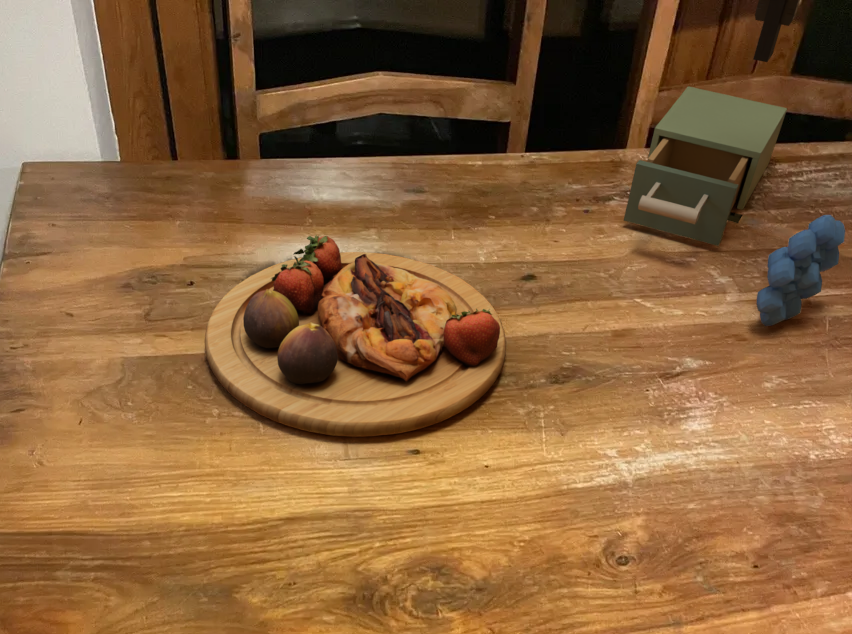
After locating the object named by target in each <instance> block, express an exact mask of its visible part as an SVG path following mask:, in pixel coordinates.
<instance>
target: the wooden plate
mask: <svg viewBox="0 0 852 634" xmlns="http://www.w3.org/2000/svg"><path fill="white" fill-rule="evenodd" d="M306 240H308V241H309V244H306V245H305V246H304V249H302V248H300V249H298V250H296V251H294V252H293V254H292V255H302V254H303V256H301V257H297V256H293V259H288V260H285V261H282V262H279V263H276V264H273V265H270V266H269V267H266V268H264V269H262V270H260V271H258V272H255V273H253V274H252V275H250V276H249V277H246V278H245V279H244V280H242V281H241V282H239V283H237V285H235V286H234V287H232V288H231V289H230V290H229V291H228V292H227V293H226V294H225V295H224V296H223V297H222V298H221V299H220V301H219V302H218V303H217V304H216V305H215V307H214V309H212V312H211V313H210V316H209V319H208V321H207V323H206V329H205V333H204V352H205V355H206V356H205V357H206V361H207V363H208V365H209V367H210V369H211V371H212V373H213V375H214V377H215V378H216V380H217V381H218V382H219V383H220V384H221V386H222V387H223V388H224V389H225V390H226V391H227V393H228V394H230V396H231V397H233V398H235V400H237V401H238V402H239V403H241V404H242V405H244V406H245V407H246V408H249V409H250V410H252V411H254V412H255V413H256V414H258V415H260V416H262V417H264V418H267V419H269V420H271V421H273V422H276V423H279V424H280V425H281V424H282V425H285V426H287V427H290V428H294V429H297V430H302V431H305V432H311V433H316V434H321V435H327V436H336V437H376V436H386V435H387V436H388V435H396V434H402V433H407V432H411V431H416V430H420V429H423V428H426V427H430V426H432V425H436V424H438V423H441V422H443V421H446V420H448V419H450V418H452V417H454V416H456V415H457V414H459V413H462V412H463V411H465V410H466V409H468V408H469V407H471V406H472V405H473V404H475V403H476V402H477V401H479V400H480V399H481V398H482V397H483V396H484V395H485V394H486V393H487V392H488V391H489V390H490V389H491V387H492V386H493V385H494V383H495V382H496V380H497V379H498V377H499V375H500V374H501V372H502V369H503V366H504V363H505V361H506V355H507V354H506V353H507V338H506V332H505V329H504V326H503V323H502V320H501V318H500V316H499V314H498V313H497V311H496V308H494V306H493V305H492V303H490V301H489V300H487V298H486V297H485V296H484V295H483V294H482V293H481V292H479V291H478V290H477V289H476V288H475V287H473V286H472V285H471V284H469V283H468V282H466V281H465V280H464V279H462V278H460V277H459V276H457V275H455V274H453V273H451V272H449V271H446V270H445V269H442V268H440V267H437V266H436V265H432V264H430V263H426V262H424V261H419V260H416V259H412V258H408V257H403V256H398V255H393V254H387V253H378V252H365V251H363V252H362V251H342V252H341V251H340V248H339V246H338V245H337V243H336V241H335V240H334V239H333V238H332V237H329V236H328V235H323V236H319V235H317V234H315V236H314V237H313V236H311V235H309V236H307V237H306Z"/></svg>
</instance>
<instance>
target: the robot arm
mask: <svg viewBox="0 0 852 634" xmlns="http://www.w3.org/2000/svg"><path fill="white" fill-rule="evenodd" d="M800 2H801V0H758V2H757V6H756V9H755V13H754V19H755V21H757V22H758V21H759V22H763V23H762V27H761V30H760V34H759V37H758V41H757V44H756V47H755V51H754V55H753V58H752V61H753V60H754V61H758V62H762V63H763V62H764V63H768V62H769V61H770V59H771V57H772V56H773V55H774V51H775V48H776V44H777V42H778V38H779V34H780V31H781V27H782V26H786V27H789V26H790V25H791V24H792V22H793V21H794V19H795V18H796V15H797V12H798V8H799V6H800Z"/></svg>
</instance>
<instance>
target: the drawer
mask: <svg viewBox="0 0 852 634" xmlns="http://www.w3.org/2000/svg"><path fill="white" fill-rule="evenodd" d="M752 159H753V158H751V157H747V156H743V155H739V154H735V153H730V152H726V151H722V150H718V149H714V148H710V147H706V146H701V145H697V144H693V143H689V142H685V141H681V140H676V139H672V138H668V137H664V138H663V140H662V141H661V142H660V143H659V145H658V146H657V147H656V149H655V150H654V151H653V153H652V154H651V155H650V156H649V158H648V157H647V160H642V159H638V161H637V162H636V164H635V168H634V171H633V172H634V173H633V177H632V181H631V186H630V190H629V194H628V199H627V203H626V207H625V212H624V217H623V221H624V222H627V223H631V224H634V225H638V226H642V227H646V228H650V229H654V230H657V231H661V232H663V233H664V232H665V233H668V234H671V235H676V236H680V237H683V238H687V239H690V240H694V241H699V242H702V243H705V244H708V245H709V244H710V245H713V246H717V247H719V246H720V244H721V243H722V240H723V236H724V233H725V230H726V227H727V224H728V222H729V221H728V218H729V215H730V213H731V212H732V209H733V207H734V206H735V205H736V202H737V201H738V200H739V198H740V196H741V193H742V190H743V187H744V184H745V181H746V177H747V174H748V171H749V168H750V165H751V162H752Z"/></svg>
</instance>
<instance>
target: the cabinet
mask: <svg viewBox="0 0 852 634" xmlns="http://www.w3.org/2000/svg"><path fill="white" fill-rule="evenodd" d="M787 110H788V108H787V107H784V106H779V105H774V104H769V103H765V102H762V101H761V102H760V101H756V100H753V99H747V98H742V97H738V96H733V95H729V94H724V93H720V92H717V91H716V92H715V91H711V90H707V89H702V88H697V87H693V86H687V87H686V88H685V89H684V91H683V92H682V93H681V95H680V96H679V97H678V98H677V99H676V100H675V101H674V103H673V104H672V106H671V107H670V108H669V110H668V111H667V112H666V113H665V115H663V117H662V118H661V120H660V121H659V122H658V123H657V124H656V125H655V127H654V130H653V136H652V139H651V142H650V147H649V152H648V156H647V159H648V158H649V156H650V155H651V154H652V153H653V151H654V150H655V149H656V147H657V146H658V145H659V143H660V142H661V141H662V140H663V138H664V137H668V138H672V139H676V140H681V141H685V142H689V143H693V144H697V145H701V146H706V147H710V148H714V149H718V150H722V151H726V152H730V153H735V154H739V155H743V156H747V157H751V158H753V159H752V162H751V165H750V168H749V171H748V174H747V177H746V181H745V184H744V187H743V190H742V192H741V194H740V196H739V198H738V203H737V206H736V209H737V210H742V211H743V210H744V209H745V206H746V205H747V203H748V201H749V200H750V198H751V196H752V194H753V193H754V192H755V191H754V190H755V188H756V187H757V186H758V184H759V182H760V180H761V178H762V176H763V175H764V173H765V171H766V170H767V167H768V166H769V164H770V161H771V159H772V155H773V153H774V149H775V146H776V143H777V140H778V137H779V134H780V131H781V129H782V125H783V122H784V119H785V116H786V113H787ZM730 212H731V213H730V215H729V218H728V221H727V222H731V223H735V224H739V223H740V221H741V220H742V218H743V216H744V215H743V214H740V213H738V212H737V213H736V212H734V211H730Z"/></svg>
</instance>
